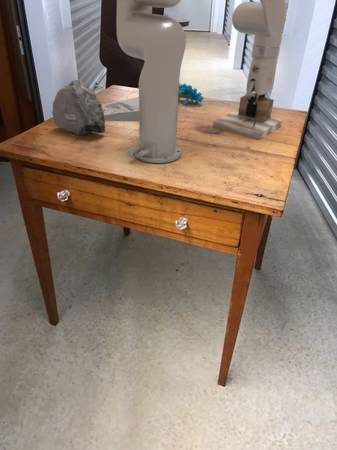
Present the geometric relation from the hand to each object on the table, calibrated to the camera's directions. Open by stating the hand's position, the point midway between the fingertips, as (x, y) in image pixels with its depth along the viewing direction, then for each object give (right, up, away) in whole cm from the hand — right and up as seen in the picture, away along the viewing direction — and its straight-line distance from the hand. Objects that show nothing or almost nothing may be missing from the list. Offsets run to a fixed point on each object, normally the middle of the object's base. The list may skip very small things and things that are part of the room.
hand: (254, 113), depth 115 cm
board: (-2, -4, 0) cm, 5 cm away
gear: (-20, +9, +19) cm, 29 cm away
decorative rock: (-54, -9, -11) cm, 55 cm away
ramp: (-40, 0, +4) cm, 40 cm away
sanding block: (0, -1, +1) cm, 1 cm away
